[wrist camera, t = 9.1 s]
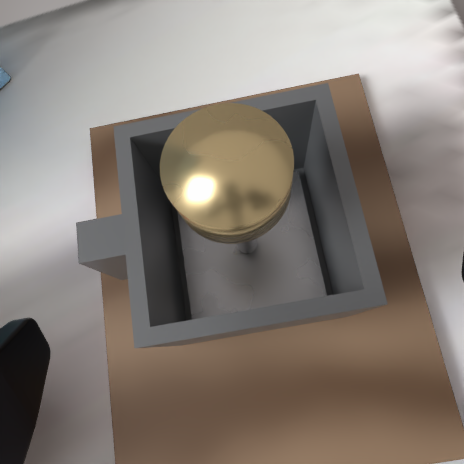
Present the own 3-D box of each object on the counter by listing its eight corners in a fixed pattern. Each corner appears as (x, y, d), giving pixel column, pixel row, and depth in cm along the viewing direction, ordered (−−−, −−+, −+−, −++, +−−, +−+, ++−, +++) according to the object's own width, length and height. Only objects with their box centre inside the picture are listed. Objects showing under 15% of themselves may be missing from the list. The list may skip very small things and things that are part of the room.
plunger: (325, 297, 19) (377, 256, 10) (194, 320, 19) (120, 303, 10) (297, 174, 21) (318, 39, 11) (177, 198, 21) (100, 85, 12)
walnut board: (465, 453, 18) (472, 457, 18) (123, 506, 19) (119, 511, 18) (356, 80, 24) (358, 73, 23) (94, 133, 24) (90, 128, 24)
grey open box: (348, 316, 20) (387, 304, 13) (142, 352, 20) (76, 358, 13) (311, 161, 22) (327, 82, 15) (126, 197, 22) (64, 136, 16)
